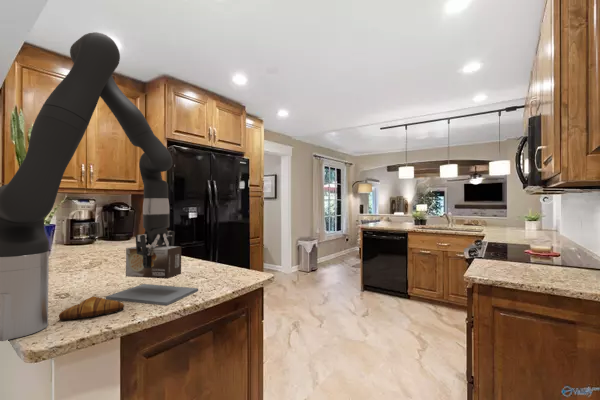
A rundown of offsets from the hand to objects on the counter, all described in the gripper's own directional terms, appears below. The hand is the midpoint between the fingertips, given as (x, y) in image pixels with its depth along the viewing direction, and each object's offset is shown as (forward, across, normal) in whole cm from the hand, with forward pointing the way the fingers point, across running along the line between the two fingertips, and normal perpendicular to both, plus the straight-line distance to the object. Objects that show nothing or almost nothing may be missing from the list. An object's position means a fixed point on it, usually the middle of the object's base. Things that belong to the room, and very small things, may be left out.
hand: (156, 265), depth 90 cm
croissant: (+9, -19, +3) cm, 21 cm away
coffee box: (-1, 0, +9) cm, 9 cm away
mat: (+9, -1, 0) cm, 9 cm away
